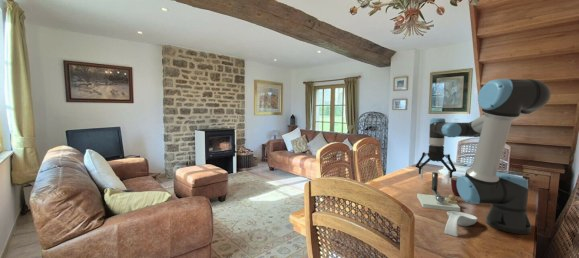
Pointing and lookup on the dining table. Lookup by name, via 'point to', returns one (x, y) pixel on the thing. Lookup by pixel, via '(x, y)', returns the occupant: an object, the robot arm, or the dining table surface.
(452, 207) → the board
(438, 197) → the lever
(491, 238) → the dining table surface
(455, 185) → the mug
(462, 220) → the spoon rest
